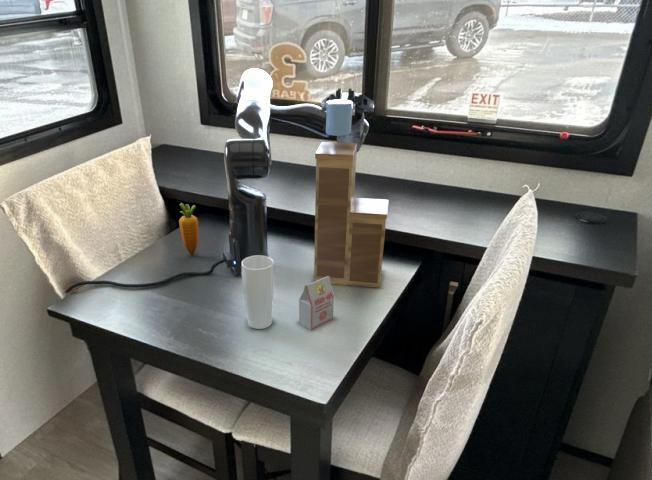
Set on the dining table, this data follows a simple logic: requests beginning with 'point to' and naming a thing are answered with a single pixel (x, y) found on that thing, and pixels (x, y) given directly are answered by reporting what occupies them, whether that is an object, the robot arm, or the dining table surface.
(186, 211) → the carrot
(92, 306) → the dining table surface
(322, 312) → the milk carton
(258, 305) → the drinking glass
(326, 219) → the step stand
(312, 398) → the dining table surface
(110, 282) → the robot arm
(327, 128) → the pale blue saucepan
